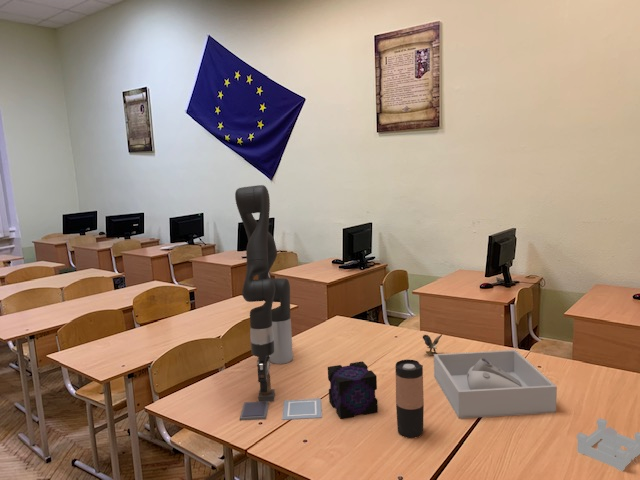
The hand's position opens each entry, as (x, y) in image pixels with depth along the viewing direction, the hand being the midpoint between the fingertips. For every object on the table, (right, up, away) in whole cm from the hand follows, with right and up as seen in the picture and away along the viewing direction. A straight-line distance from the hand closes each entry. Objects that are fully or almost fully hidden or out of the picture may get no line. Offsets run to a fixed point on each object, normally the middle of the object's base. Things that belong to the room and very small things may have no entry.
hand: (265, 386), depth 162 cm
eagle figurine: (+63, +3, +31) cm, 70 cm away
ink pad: (-2, -6, -8) cm, 10 cm away
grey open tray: (+73, -1, -3) cm, 73 cm away
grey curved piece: (+74, -1, -3) cm, 74 cm away
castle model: (+93, -6, -38) cm, 100 cm away
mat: (+13, -5, -8) cm, 16 cm away
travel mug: (+44, -6, -23) cm, 50 cm away
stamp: (0, -4, +1) cm, 5 cm away
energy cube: (+29, -5, -8) cm, 30 cm away
